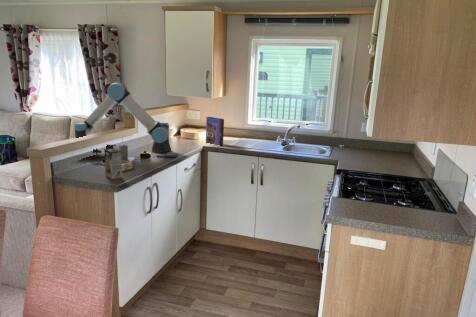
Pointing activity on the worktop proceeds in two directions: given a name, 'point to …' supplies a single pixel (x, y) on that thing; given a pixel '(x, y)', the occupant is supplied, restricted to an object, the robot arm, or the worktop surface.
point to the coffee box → (113, 163)
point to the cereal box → (214, 130)
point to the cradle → (126, 165)
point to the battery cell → (124, 152)
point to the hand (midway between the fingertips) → (113, 150)
